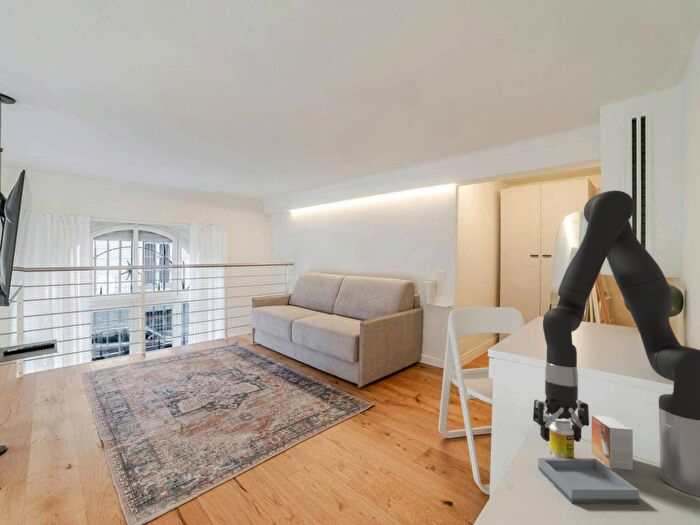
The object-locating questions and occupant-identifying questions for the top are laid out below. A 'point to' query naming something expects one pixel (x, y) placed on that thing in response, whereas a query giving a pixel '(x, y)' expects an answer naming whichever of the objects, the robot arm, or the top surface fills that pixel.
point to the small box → (612, 442)
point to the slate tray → (588, 481)
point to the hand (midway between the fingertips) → (560, 440)
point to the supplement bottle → (561, 439)
